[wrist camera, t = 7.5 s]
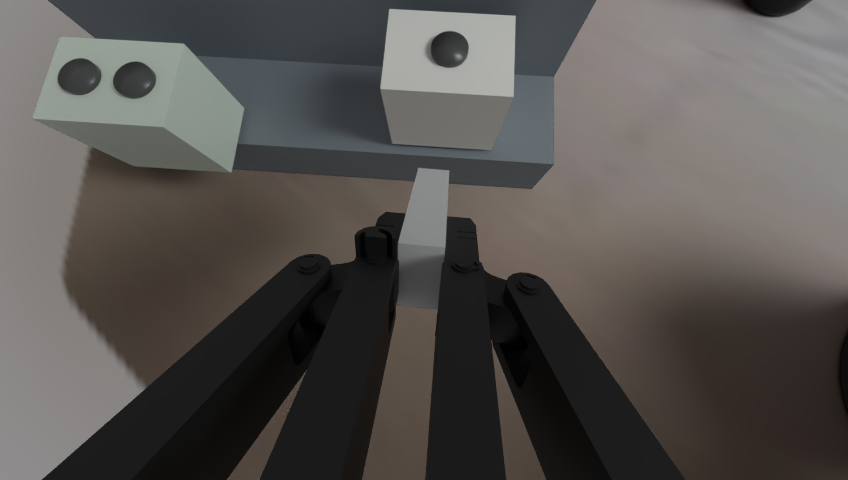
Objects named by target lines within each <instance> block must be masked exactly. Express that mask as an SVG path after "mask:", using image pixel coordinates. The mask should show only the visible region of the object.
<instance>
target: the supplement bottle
mask: <svg viewBox="0 0 848 480" xmlns="http://www.w3.org/2000/svg"><path fill="white" fill-rule="evenodd" d="M743 1H744V2H745V3H746V4H747V5H748V6H749V7H750V8H752V9H753V10H755V11H757V12H759V13H762V14H765V15H771V16H781V15H787V14H790V13H793V12H796V11H798V10H799V9H801V8H803V7H804V6H805V5H807V4H808V3H809V2H811V1H812V0H743Z"/></svg>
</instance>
